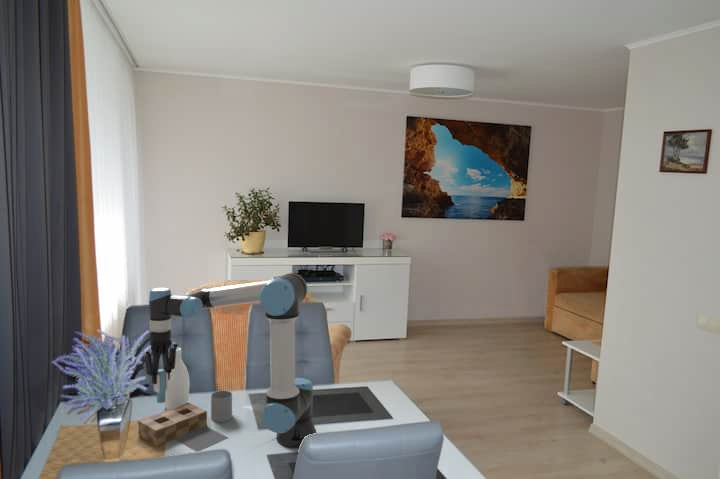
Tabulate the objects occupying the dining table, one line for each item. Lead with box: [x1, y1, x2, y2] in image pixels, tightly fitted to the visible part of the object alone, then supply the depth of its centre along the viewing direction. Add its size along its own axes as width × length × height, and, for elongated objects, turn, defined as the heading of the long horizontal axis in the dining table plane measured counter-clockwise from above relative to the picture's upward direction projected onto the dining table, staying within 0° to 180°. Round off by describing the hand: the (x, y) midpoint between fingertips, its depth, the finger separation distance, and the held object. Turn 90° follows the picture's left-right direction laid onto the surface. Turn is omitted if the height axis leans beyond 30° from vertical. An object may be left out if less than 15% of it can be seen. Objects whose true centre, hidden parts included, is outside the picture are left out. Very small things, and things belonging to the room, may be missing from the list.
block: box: [137, 402, 208, 446], centre depth 209 cm, size 12×22×6 cm, turn 142°
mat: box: [174, 426, 229, 452], centre depth 203 cm, size 14×14×1 cm
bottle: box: [163, 347, 191, 411], centre depth 229 cm, size 11×11×25 cm
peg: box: [156, 368, 165, 404], centre depth 203 cm, size 3×3×12 cm
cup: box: [210, 390, 233, 423], centre depth 220 cm, size 8×8×10 cm
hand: (161, 390), depth 203 cm, fingers closed on peg, 3 cm apart
